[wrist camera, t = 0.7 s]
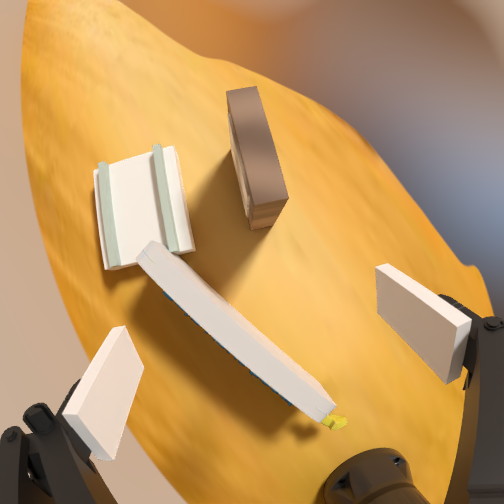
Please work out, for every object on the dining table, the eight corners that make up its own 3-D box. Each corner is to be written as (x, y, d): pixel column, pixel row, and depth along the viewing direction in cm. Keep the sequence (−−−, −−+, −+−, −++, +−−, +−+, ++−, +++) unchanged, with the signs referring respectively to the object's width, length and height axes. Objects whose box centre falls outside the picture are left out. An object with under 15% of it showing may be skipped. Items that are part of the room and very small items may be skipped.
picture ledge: (196, 250, 38) (189, 247, 34) (114, 270, 38) (99, 269, 33) (177, 153, 39) (170, 140, 35) (102, 176, 39) (88, 166, 34)
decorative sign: (153, 268, 38) (125, 265, 29) (172, 247, 39) (149, 237, 29) (323, 418, 37) (344, 452, 27) (342, 400, 38) (367, 430, 28)
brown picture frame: (275, 225, 39) (291, 197, 25) (248, 231, 39) (251, 205, 25) (254, 143, 40) (258, 85, 26) (229, 148, 40) (223, 91, 26)
